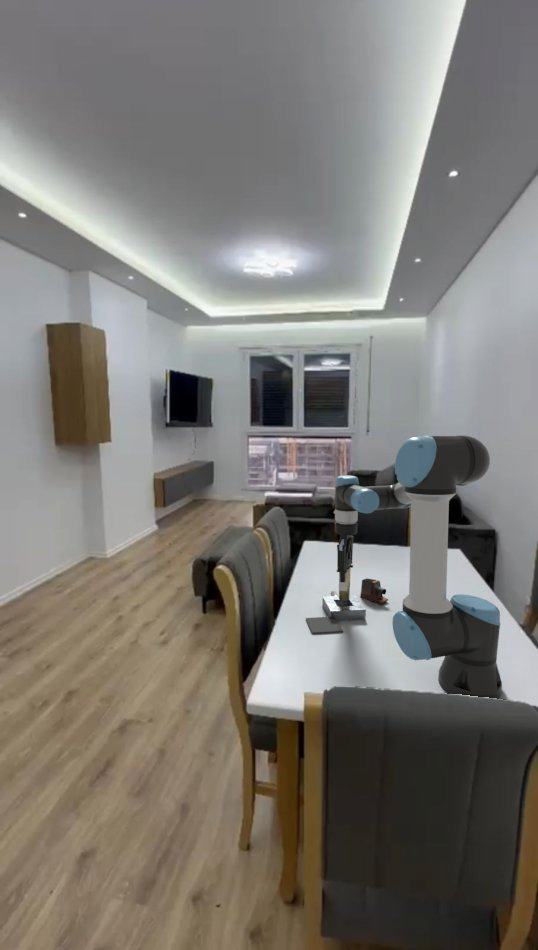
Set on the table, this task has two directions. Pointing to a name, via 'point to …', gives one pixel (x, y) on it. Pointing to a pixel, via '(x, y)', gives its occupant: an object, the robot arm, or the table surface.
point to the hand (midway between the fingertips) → (344, 588)
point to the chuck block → (343, 608)
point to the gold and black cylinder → (345, 594)
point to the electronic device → (373, 591)
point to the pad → (323, 625)
